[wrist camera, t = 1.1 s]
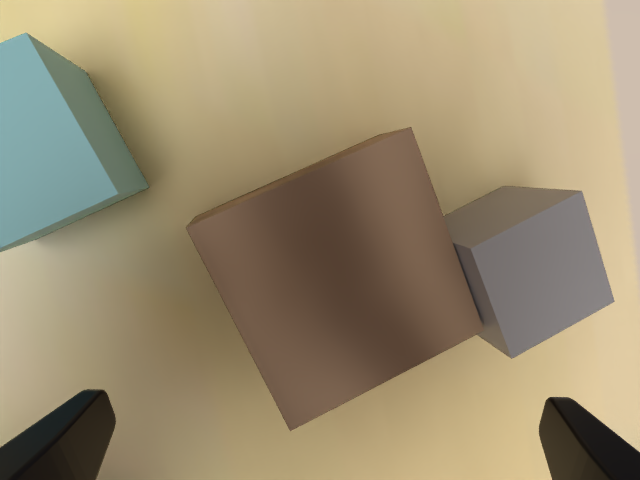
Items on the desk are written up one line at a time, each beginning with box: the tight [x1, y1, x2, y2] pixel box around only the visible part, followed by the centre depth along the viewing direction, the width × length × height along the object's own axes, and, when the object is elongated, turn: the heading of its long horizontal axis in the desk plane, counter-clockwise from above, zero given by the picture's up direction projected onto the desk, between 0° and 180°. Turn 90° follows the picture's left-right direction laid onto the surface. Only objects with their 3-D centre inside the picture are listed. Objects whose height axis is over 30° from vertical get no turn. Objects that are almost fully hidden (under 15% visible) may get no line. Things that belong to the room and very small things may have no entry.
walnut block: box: [186, 127, 484, 431], centre depth 18 cm, size 9×9×4 cm
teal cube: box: [0, 33, 149, 252], centre depth 15 cm, size 5×5×5 cm
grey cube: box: [443, 186, 615, 359], centre depth 19 cm, size 5×5×5 cm
